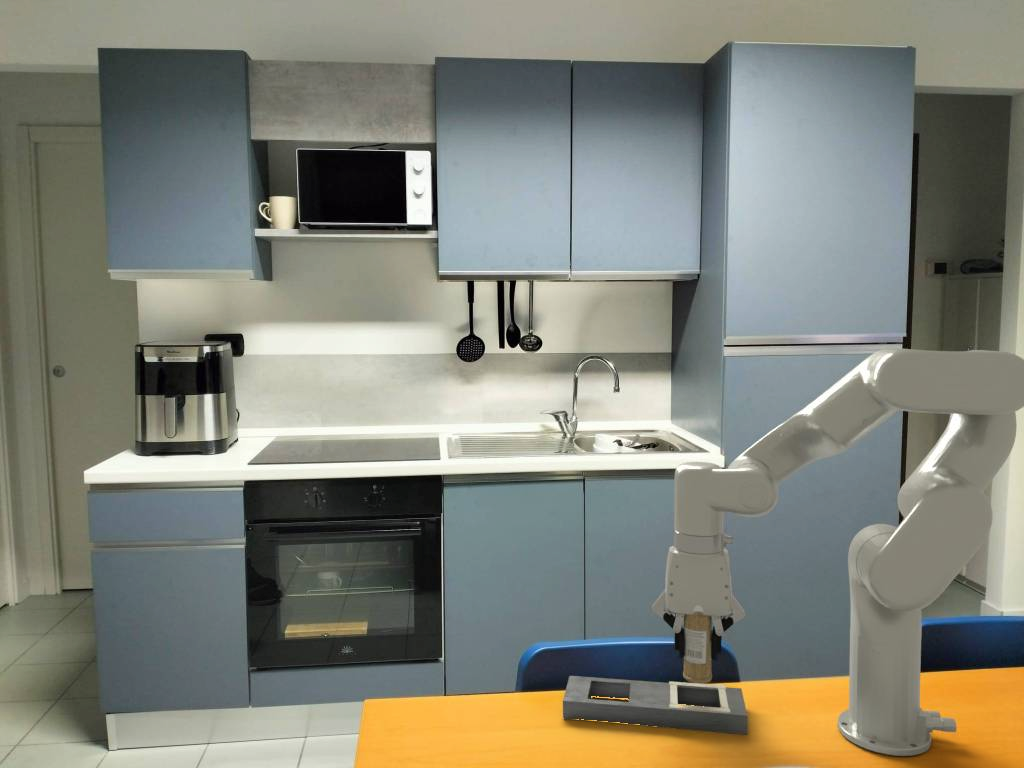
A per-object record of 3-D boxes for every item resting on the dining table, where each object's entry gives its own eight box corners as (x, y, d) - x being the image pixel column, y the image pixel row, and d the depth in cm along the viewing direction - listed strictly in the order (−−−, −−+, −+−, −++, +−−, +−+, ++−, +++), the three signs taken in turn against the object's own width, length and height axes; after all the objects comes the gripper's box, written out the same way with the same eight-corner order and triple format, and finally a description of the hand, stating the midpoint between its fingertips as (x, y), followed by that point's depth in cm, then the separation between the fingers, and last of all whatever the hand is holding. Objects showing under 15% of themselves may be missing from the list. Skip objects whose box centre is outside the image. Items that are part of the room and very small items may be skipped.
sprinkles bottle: (717, 678, 120) (718, 594, 119) (701, 687, 117) (702, 602, 116) (692, 669, 123) (693, 588, 123) (676, 678, 120) (677, 594, 119)
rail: (741, 706, 124) (741, 686, 123) (747, 734, 115) (747, 713, 114) (569, 692, 129) (569, 673, 129) (563, 719, 120) (562, 698, 120)
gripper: (752, 538, 121) (750, 650, 122) (644, 533, 124) (643, 642, 125) (757, 551, 113) (756, 670, 115) (643, 545, 117) (642, 661, 118)
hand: (697, 654), depth 120 cm, fingers closed on sprinkles bottle, 4 cm apart
